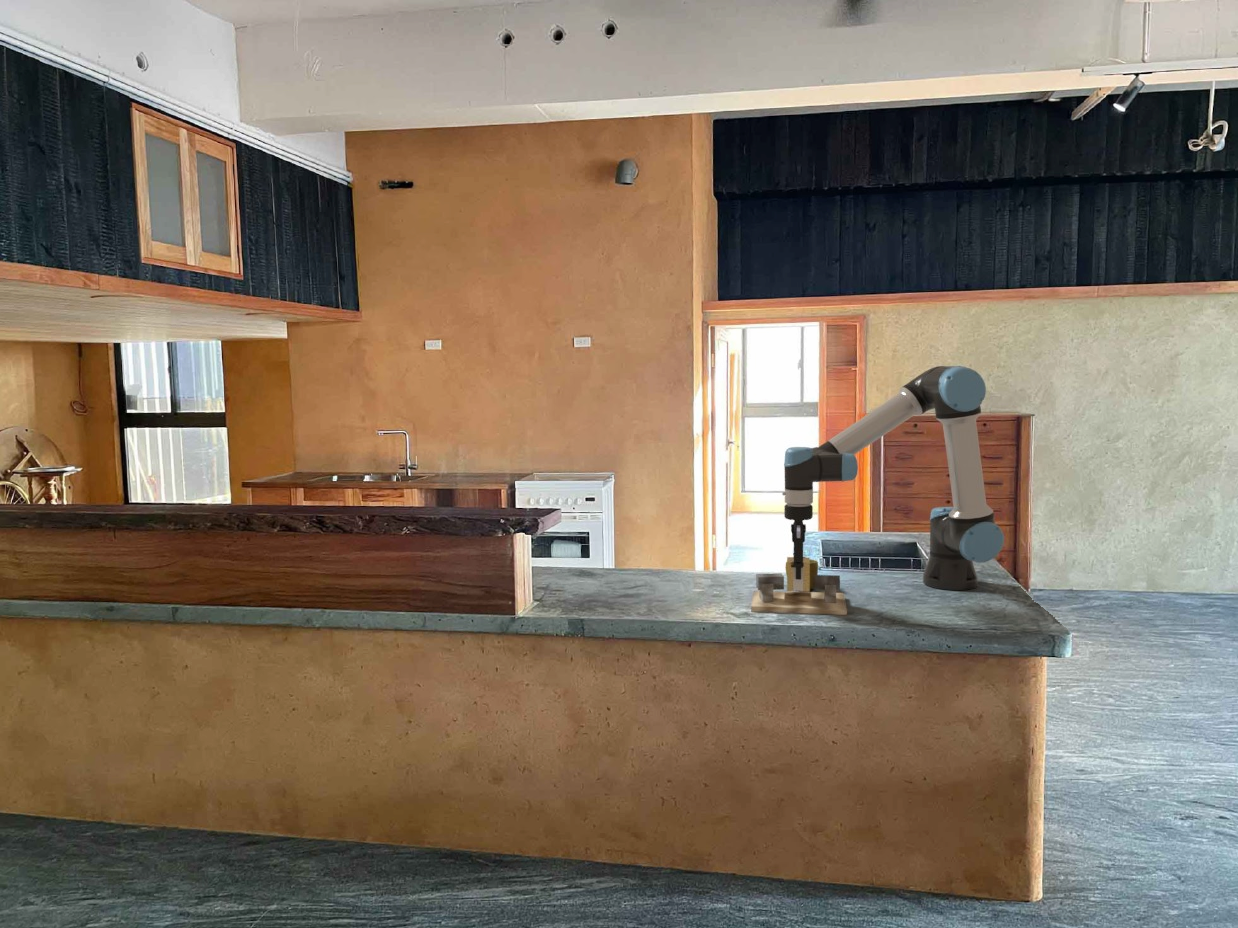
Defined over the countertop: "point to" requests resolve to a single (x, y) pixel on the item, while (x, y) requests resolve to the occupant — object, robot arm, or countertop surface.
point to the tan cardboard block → (805, 574)
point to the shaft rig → (798, 596)
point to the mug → (811, 571)
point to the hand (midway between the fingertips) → (798, 586)
